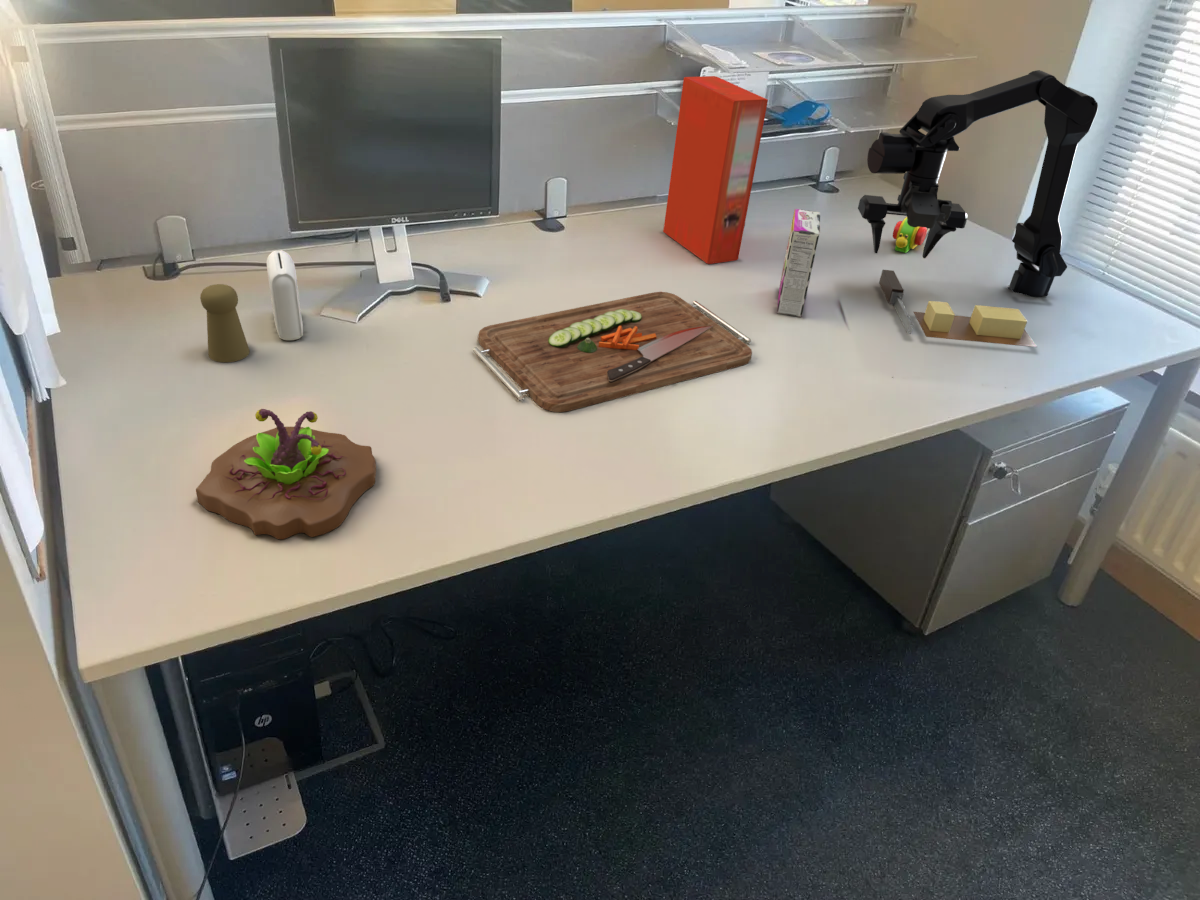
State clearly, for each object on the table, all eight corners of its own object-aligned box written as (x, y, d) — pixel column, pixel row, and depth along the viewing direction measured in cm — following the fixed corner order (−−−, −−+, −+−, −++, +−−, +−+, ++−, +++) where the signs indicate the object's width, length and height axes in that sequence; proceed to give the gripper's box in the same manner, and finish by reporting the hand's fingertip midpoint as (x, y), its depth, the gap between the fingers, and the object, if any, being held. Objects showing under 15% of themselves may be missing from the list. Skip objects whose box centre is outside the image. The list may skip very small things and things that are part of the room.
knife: (888, 289, 179) (893, 270, 177) (913, 340, 162) (919, 320, 160) (877, 288, 179) (882, 269, 177) (901, 339, 162) (907, 319, 160)
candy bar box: (777, 289, 175) (794, 207, 166) (803, 293, 175) (821, 211, 165) (774, 314, 166) (792, 229, 157) (801, 318, 166) (821, 233, 156)
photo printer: (273, 313, 151) (262, 244, 144) (299, 311, 153) (290, 242, 146) (277, 342, 144) (266, 271, 137) (305, 340, 145) (296, 268, 138)
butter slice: (941, 320, 167) (947, 302, 165) (949, 332, 163) (955, 314, 161) (923, 318, 167) (928, 300, 165) (929, 330, 163) (935, 312, 161)
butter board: (1017, 327, 170) (1019, 321, 169) (1035, 352, 161) (1037, 347, 161) (911, 317, 170) (913, 311, 169) (924, 342, 161) (926, 336, 161)
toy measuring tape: (882, 250, 196) (890, 221, 192) (911, 226, 210) (919, 199, 206) (910, 258, 193) (919, 229, 190) (938, 234, 207) (947, 206, 203)
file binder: (694, 229, 198) (716, 75, 179) (739, 259, 186) (768, 98, 167) (663, 233, 194) (682, 77, 176) (706, 264, 182) (732, 100, 164)
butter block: (1011, 326, 167) (1018, 308, 165) (1020, 339, 163) (1027, 321, 161) (968, 322, 167) (975, 304, 165) (976, 335, 163) (983, 317, 161)
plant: (268, 427, 125) (257, 357, 118) (397, 460, 121) (392, 389, 114) (172, 513, 109) (152, 437, 102) (316, 553, 105) (306, 477, 98)
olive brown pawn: (257, 348, 142) (247, 284, 135) (233, 365, 137) (221, 300, 131) (225, 340, 143) (213, 276, 137) (199, 356, 138) (186, 291, 132)
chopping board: (678, 293, 170) (680, 278, 168) (770, 358, 152) (773, 342, 150) (459, 338, 149) (458, 322, 148) (535, 419, 131) (536, 401, 129)
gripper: (880, 183, 155) (858, 267, 164) (988, 193, 155) (960, 277, 164) (868, 163, 164) (847, 244, 173) (970, 173, 164) (944, 253, 173)
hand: (899, 255), depth 171 cm, fingers open, 9 cm apart
